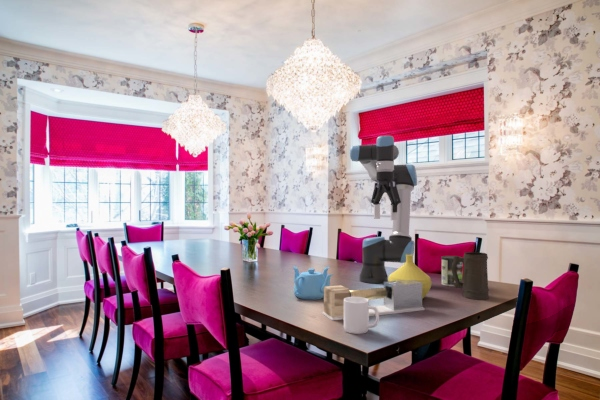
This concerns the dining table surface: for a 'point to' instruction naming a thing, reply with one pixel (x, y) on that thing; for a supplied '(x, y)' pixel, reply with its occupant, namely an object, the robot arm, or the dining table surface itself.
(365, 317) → the cup
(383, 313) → the base rail
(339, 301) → the socket block
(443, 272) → the coffee can
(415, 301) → the sleeve
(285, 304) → the dining table surface
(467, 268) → the beer stein
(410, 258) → the vase
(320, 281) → the teapot
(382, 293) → the slip tube
